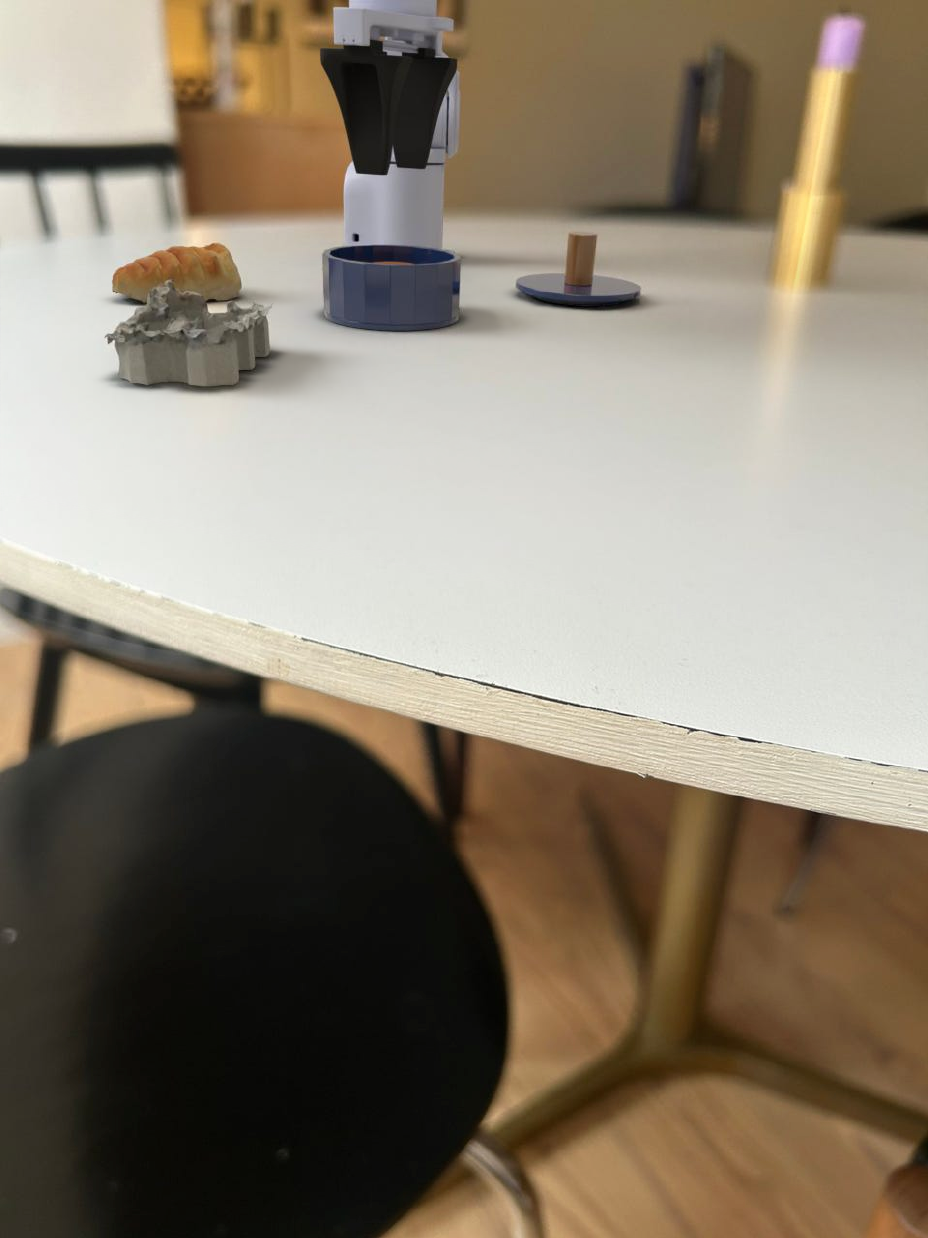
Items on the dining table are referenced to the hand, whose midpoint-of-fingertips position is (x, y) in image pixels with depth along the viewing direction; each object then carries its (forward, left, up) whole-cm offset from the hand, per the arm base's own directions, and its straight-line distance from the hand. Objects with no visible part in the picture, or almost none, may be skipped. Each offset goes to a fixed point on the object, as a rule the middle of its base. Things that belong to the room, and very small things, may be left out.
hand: (392, 171), depth 67 cm
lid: (+11, +15, -9) cm, 21 cm away
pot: (0, 0, -10) cm, 10 cm away
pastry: (-17, -1, -10) cm, 20 cm away
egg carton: (-5, -19, -10) cm, 22 cm away
